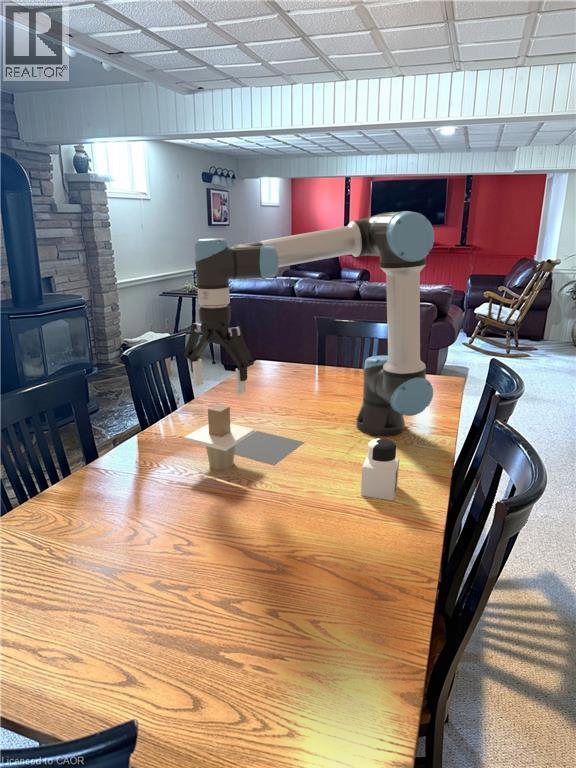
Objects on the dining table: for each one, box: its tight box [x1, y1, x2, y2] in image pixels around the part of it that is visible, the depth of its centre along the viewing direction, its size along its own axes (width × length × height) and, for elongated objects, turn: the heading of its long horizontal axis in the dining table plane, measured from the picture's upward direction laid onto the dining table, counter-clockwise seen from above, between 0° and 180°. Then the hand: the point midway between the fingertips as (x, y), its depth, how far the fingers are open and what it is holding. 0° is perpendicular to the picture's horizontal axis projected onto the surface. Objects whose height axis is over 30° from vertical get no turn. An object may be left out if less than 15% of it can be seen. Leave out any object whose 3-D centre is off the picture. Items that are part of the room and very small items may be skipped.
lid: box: [183, 404, 255, 451], centre depth 129 cm, size 13×13×8 cm
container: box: [360, 437, 400, 502], centre depth 119 cm, size 8×8×13 cm
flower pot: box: [205, 445, 235, 471], centre depth 132 cm, size 9×9×9 cm
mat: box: [234, 430, 305, 466], centre depth 143 cm, size 17×17×1 cm
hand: (219, 388), depth 127 cm, fingers open, 13 cm apart
